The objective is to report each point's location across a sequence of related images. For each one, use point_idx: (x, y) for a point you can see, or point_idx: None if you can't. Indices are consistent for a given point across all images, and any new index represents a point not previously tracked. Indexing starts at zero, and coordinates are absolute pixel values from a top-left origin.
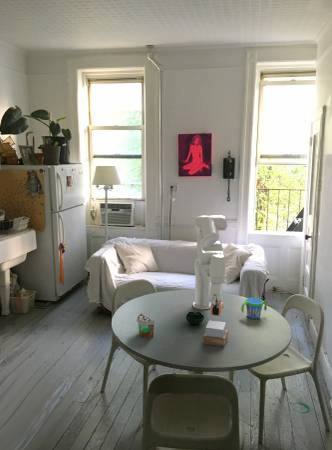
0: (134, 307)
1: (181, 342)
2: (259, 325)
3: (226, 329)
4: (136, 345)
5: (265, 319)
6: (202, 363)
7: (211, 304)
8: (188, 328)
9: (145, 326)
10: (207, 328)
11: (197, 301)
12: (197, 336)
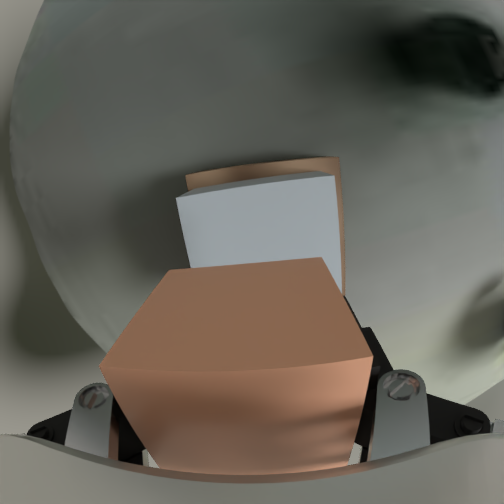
0: None
1: (155, 64)
2: (461, 354)
3: (343, 287)
4: None
5: (498, 352)
6: (49, 243)
7: (128, 383)
8: (340, 34)
9: None
10: (180, 211)
11: None
12: (265, 109)
